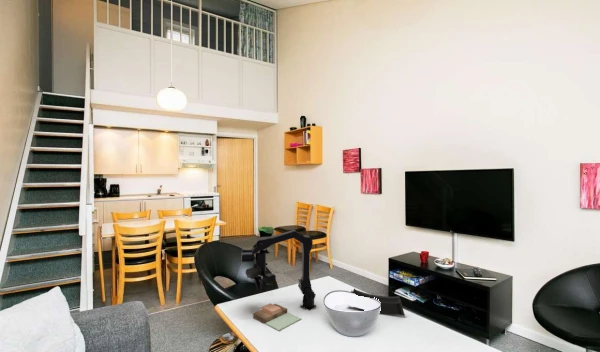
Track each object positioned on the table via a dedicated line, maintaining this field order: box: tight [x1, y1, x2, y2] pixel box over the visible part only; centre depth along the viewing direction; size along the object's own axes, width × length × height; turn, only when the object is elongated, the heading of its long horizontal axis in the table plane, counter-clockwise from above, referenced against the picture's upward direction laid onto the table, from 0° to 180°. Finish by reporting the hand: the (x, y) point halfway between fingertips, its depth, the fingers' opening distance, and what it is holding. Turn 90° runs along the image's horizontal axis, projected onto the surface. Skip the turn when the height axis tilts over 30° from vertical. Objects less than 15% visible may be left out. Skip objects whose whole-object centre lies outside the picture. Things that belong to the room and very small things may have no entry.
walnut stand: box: [252, 303, 288, 325], centre depth 159 cm, size 16×9×2 cm, turn 138°
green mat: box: [264, 312, 302, 332], centre depth 152 cm, size 16×10×1 cm, turn 138°
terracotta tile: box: [261, 303, 281, 315], centre depth 158 cm, size 6×8×2 cm
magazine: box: [350, 288, 406, 316], centre depth 165 cm, size 17×3×30 cm
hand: (260, 290), depth 164 cm, fingers open, 3 cm apart
